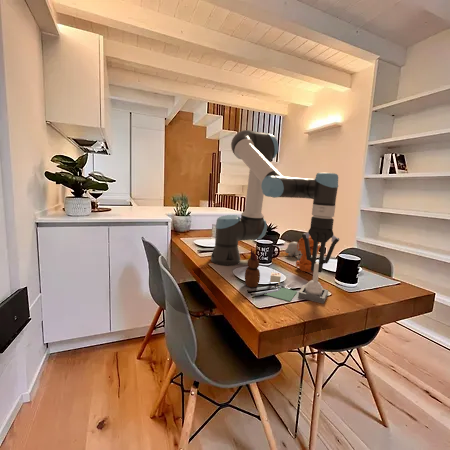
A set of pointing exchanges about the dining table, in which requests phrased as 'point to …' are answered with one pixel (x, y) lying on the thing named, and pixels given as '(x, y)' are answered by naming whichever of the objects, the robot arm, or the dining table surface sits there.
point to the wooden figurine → (252, 271)
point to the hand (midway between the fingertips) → (315, 279)
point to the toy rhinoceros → (293, 250)
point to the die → (275, 277)
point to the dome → (314, 288)
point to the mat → (283, 294)
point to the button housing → (313, 297)
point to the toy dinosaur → (304, 263)
